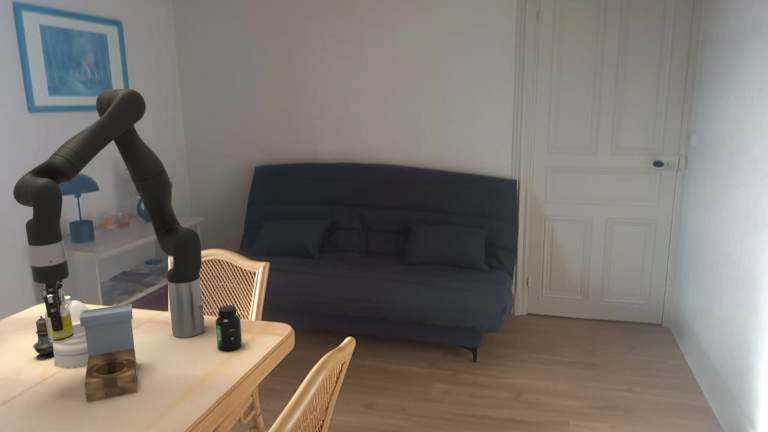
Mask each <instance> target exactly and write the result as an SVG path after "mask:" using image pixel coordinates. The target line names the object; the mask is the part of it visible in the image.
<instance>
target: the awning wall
mask: <svg viewBox="0 0 768 432" xmlns="http://www.w3.org/2000/svg"><path fill="white" fill-rule="evenodd" d="M132 320H134V318H133V304H132V303H127V304H121V305H114V306H112V305H111V306H106V307H100V308H93V309H89V310H84V311H81V314H80V324H81V327H85V334H86V341H87V349H88V356H93V355H99V354H105V353H111V352H117V351H123V350H128V349H134V350H135V341H134V340H135V339H134V332H133V323H132ZM135 351H136V350H135ZM135 359H136V360H137V358H136V355H135Z"/></svg>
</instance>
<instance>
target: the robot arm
mask: <svg viewBox="0 0 768 432" xmlns="http://www.w3.org/2000/svg"><path fill="white" fill-rule="evenodd" d="M146 105H147V104H146V101H145V99H144V97H143V95H142V94H141V93H140V92H138V91H137V90H135V89H131V88H116V89H114V88H113V89H107V90H103V91H102V92H100V93H99V94H98V96H97V98H96V101H95V106H96V111H97V114H98V116H99V118H98V119H97V120H96V121H95V122H93V123H92V124H91V125H89V126H87V127H86V128H84V129H82V130H81V131H80V132H78V133H76V134H74V135H73V136H72V137H70V138H69V139H68V140H66V141H65V142H64V143H62V144H61V146H60V147H58V149H56V150H55V151H54V152H53V153H52V155H50V156H49V157H48V158H47V160H45V161H44V162H41V163H40V164H38V165H37V166H35V167H34V168H32V169H31V170H29V171H28V172H26V173H25V174H24V175H23V176H21V177H20V178H19V179H18V180H17V182H16V183H15V184H14V187H13V193H12V195H13V198H14V200H15V201H16V202H17V203H18V204H19V205H21V206H24V207H29V208H32V218H30V219H28V220H27V221H26V223H25V232H26V238H27V243H28V258H29V263H30V269H31V275H32V280H33V282H34V283H36V284H44V287H43V288H44V289H42V296H43V301H44V306H45V309H46V312H47V317H48V318H51V324H52V330H53V331H54V332H56V331H62V330H63V322H62V316H61V314H62V312H61V306H62V305H63V301H62V299H64V300H65V291H64V289H65V285H64V282H63V280H65V279H67V278H68V277H70V271H69V266H68V265H69V264H68V257H67V251H66V246H65V244H64V240H63V235H62V234H63V233H62V228H61V217H62V211H63V210H62V209H63V208H62V207H63V194H62V190H61V188H60V184H63V183H67V182H71V181H73V180H74V179H75V178H76V177H77V176H78V175H79V174H80V173H81V171H83V170H84V168H86V166H87V165H88V164H89V163H90V162H91V161H92V160H93V159H94V158H95V157H96V156H97V155H98V154H99V153H100V152H101V151H102V150H104V149H105V148H106V147H107V146H108V145H109V144H111V142H113V143H114V144H115V145H116V148H117V150H118V152H119V155H120V156H121V159H122V161H123V163H124V166H125V167H126V170H127V171H128V174H129V176H130V179H131V182H132V184H133V186H134V187H135V190H136V192H137V194H138V195H139V198H140V200H141V201H142V204H143V206H144V209H145V211H146V212H147V214H148V216H149V219H150V221H151V224H152V227H153V231H154V234H155V237H156V240H157V243H158V245H159V248H160V249H161V250H162V252H163V253H165V254H166V255H168V256H171V257H172V267H171V268H169V269H168V270H167V273H166V277H167V278H166V280H167V287H168V288H167V289H168V299H169V300H168V301H169V311H170V320H171V330H172V335H173V336H174V337H176V338H183V339H185V338H191V337H196V336H199V335H200V334H203V333H206V330H205V327H206V326H205V315H204V304H203V300H202V299H203V298H202V288H201V277H200V273H201V272H200V271H201V269H202V266H203V265H202V261H203V260H202V242H201V238H200V235H199V233H198V232H197V231H196V230H194V229H192V228H189V227H185V226H182V225H181V223H180V222H179V220H178V218H177V216H176V213H175V212H174V209H173V204H172V193H173V190H172V189H173V188H172V183H171V180H170V177H169V175H168V171H167V170H166V168H165V166H164V164H163V162H162V160H161V159H160V157H159V156H158V155H157V154H156V153H155V152H154V151H153V150H152V149H151V148H150V147H149V146H148V145H147V144H146V143H145V142H144V140H143V139H142V138H141V136H140V135H139V133H138V131H137V129H136V127H135V124H138V122H139V121H140V120H142V118H143V117H144V115H145V113H146V109H147V108H146V107H147V106H146ZM58 301H59V302H58ZM52 309H56V312H52Z"/></svg>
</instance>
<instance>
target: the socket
mask: <svg viewBox="0 0 768 432" xmlns="http://www.w3.org/2000/svg"><path fill="white" fill-rule="evenodd" d="M135 356H136V350H134V349H128V350H123V351H117V352H111V353H105V354H99V355H93V356H88V363H87V365H86V369H85V370H86V371H85V376H84V377H85V378H84V390H85V398H86V402H87V403H89V402H93V401H97V400H98V401H99V400H103V399H108V398H113V397H118V396H119V397H120V396H123V395H128V394H133V393H137V392H138V387H137V386H138V385H137V383H138V382H137V381H138V380H137V358H136V359H135Z"/></svg>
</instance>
